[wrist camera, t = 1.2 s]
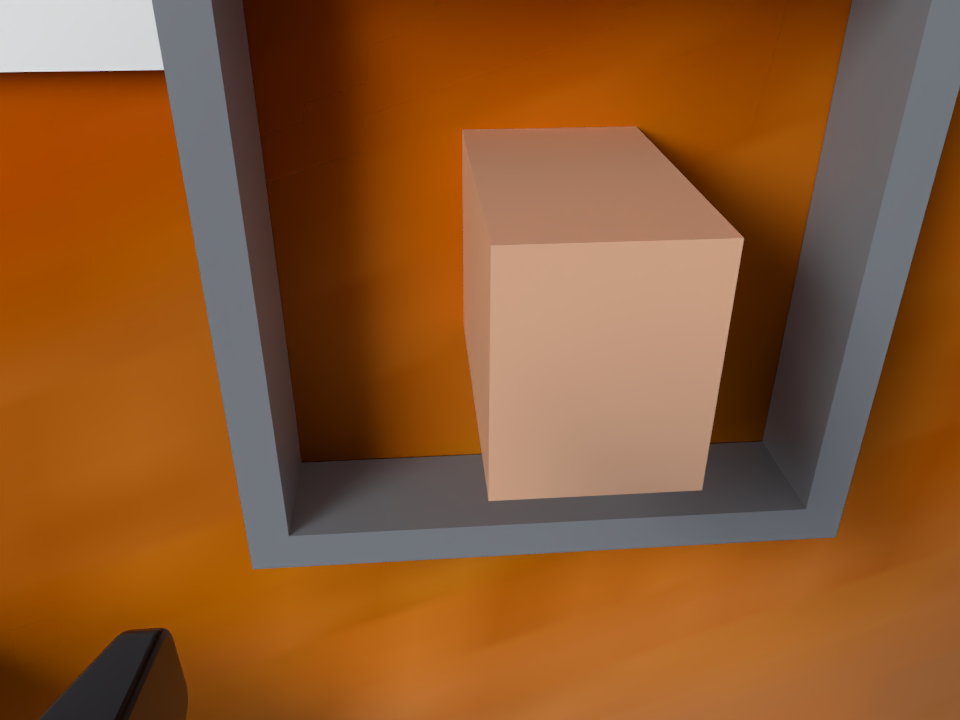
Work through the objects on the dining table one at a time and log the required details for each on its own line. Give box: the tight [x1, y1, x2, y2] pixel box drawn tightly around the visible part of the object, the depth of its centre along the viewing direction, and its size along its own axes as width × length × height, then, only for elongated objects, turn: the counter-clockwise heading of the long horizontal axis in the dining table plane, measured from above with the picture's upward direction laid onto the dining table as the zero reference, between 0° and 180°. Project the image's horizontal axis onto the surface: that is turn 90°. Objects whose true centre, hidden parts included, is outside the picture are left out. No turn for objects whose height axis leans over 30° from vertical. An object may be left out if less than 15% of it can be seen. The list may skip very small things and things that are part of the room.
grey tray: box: [152, 0, 960, 569], centre depth 19 cm, size 15×15×3 cm
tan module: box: [462, 127, 744, 501], centre depth 17 cm, size 5×4×7 cm
